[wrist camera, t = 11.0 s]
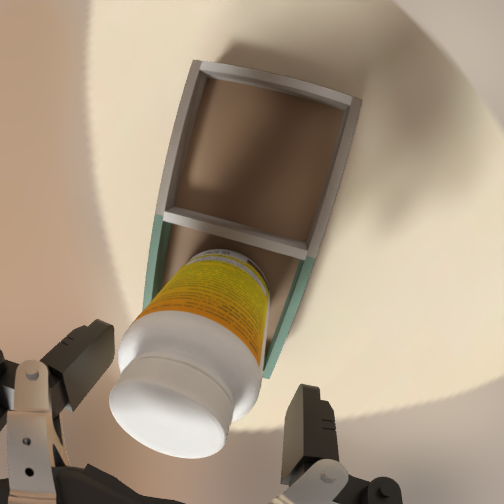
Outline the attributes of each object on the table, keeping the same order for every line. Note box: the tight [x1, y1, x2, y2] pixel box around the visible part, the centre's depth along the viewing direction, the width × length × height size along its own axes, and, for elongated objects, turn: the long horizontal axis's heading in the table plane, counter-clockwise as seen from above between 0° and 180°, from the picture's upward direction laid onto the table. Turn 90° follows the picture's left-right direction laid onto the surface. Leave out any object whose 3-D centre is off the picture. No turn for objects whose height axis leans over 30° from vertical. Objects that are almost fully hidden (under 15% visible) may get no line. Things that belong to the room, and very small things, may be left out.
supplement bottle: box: [109, 249, 270, 458], centre depth 12 cm, size 6×6×10 cm
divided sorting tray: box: [143, 60, 362, 379], centre depth 16 cm, size 8×16×3 cm, turn 165°
